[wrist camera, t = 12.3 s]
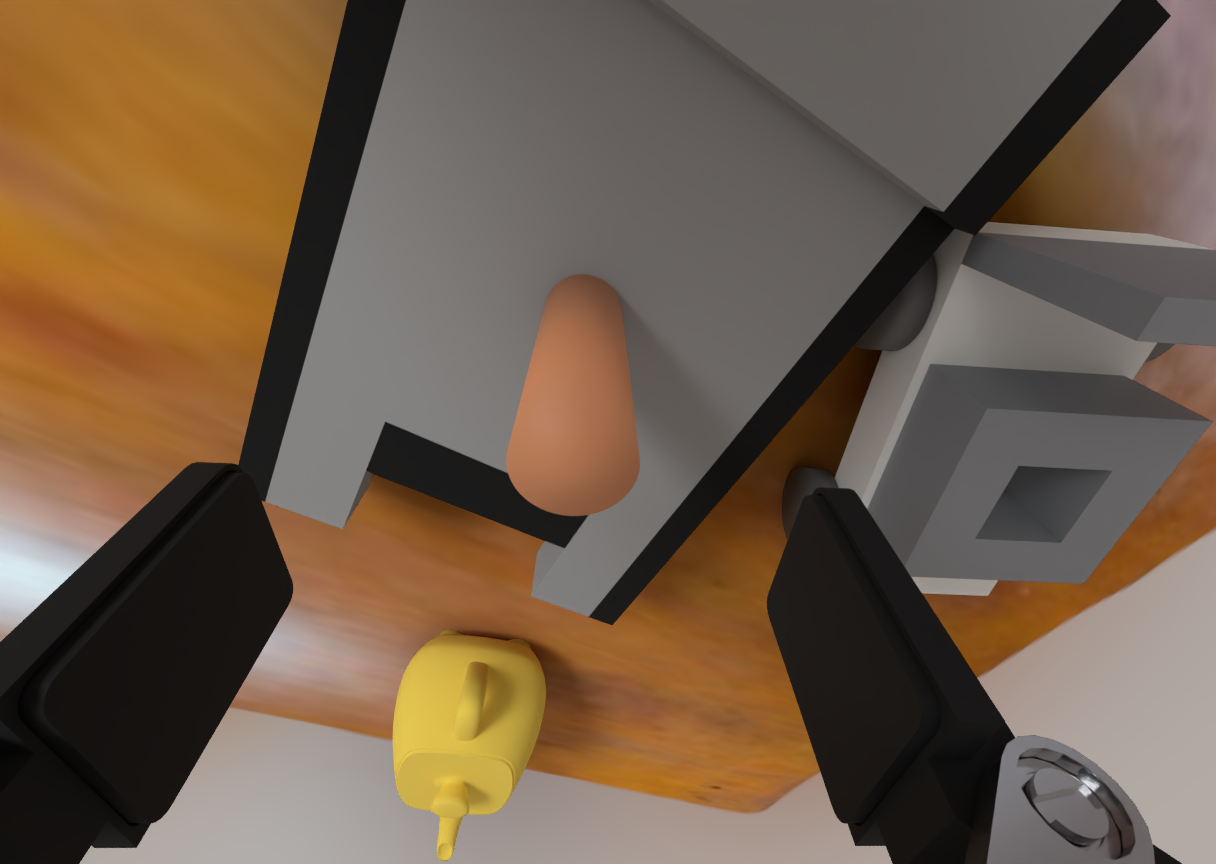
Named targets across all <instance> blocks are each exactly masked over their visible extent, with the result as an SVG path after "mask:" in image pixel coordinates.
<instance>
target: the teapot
mask: <svg viewBox="0 0 1216 864" xmlns="http://www.w3.org/2000/svg"><path fill="white" fill-rule="evenodd" d="M545 701H546V684H545V678H544V673H543V670H542V667H541V664H540V662H539V660H538V659H537V657H536V655H535V654H534V652H533V651H532V650H531V649H530V645H529V644H528V643H527V642H526V641H524V640H521V639H511V640H509V641H505V640H500V639H494V638H488V637H480V636H470V635H463V634H462V633H460V632H458V631H455V630H444V631H442V632H440V633H439V635H438V636H436V637H434V638H432V639H431V640H430V641H429V642H427V643H426V644H425V645H424V646H423V647H422V648H420V650H419V651H418V652H417V653H416V654H415V655H414V657H413V658H412V660H411V661H410V663H409V665H408V667H407V668H406V670H405V673H404V675H403V678H402V681H401V684H400V688H399V691H398V696H397V701H396V707H395V713H394V722H393V754H394V755H393V756H394V771H395V778H396V786H397V789H398V793H399V795H400V797H401V798H402V800H403V802H404V803H405V804H407V805H408V806H410V807H412V808H417V809H422V810H429V811H432V812H433V813H434V814H436V815H438V816H440V826H439V836H438V843H437V856H438V858H439V859H440V860H441V861H447V860H449V859H450V857H451V856H452V854H453V851H454V846H455V841H456V837H457V833H458V829H459V826H460V823H461V820H462V817H463V816H465V815H467V814H474V815H475V814H476V815H485V814H486V815H487V814H492V813H495V812H496V811H498V810H499V809H501V808H502V807H503V806H504V805H505V804H506V802H507V801H508V799H509V798H510V796H511V794H512V792H513V791H514V789H515V787H516V785H517V783H518V781H519V779H520V777H521V775H522V773H523V771H524V769H525V767H526V765H527V763H528V761H529V758H530V756H531V754H532V751H533V749H534V746H535V744H536V741H537V738H538V735H539V731H540V727H541V723H542V719H543V714H544V709H545Z"/></svg>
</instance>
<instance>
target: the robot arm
mask: <svg viewBox="0 0 1216 864" xmlns="http://www.w3.org/2000/svg"><path fill="white" fill-rule="evenodd" d="M292 594H293V583H292V579H291V577H290V574H289V571H288V569H287V566H286V564H285V561H284V558H283V556H282V553H281V551H280V548H279V545H278V543H277V540H276V538H275V535H274V532H273V530H272V527H271V525H270V522H269V519H268V517H267V514H266V512H265V509H264V506H263V504H262V501H261V499H260V496H259V493H258V491H257V488H256V486H255V483H254V480H253V479H252V477H251V476H250V475H249V474H247V473H244V472H243V471H242V469H241V468H240V467H239V466H238V465H236V464H231V463H206V462H196V463H192V464H190V465H189V466H187V467H186V468H185V469H184V470H183V471H182V472H181V473H179V474H178V475H177V476H176V477H175V478H174V479H173V480H172V481H171V482H170V483H169V484H168V485H167V486H166V487H165V488H164V489H162V490H161V491H160V492H159V493H158V494H157V495H156V496H155V497H154V498H153V499H152V500H151V501H150V502H149V503H148V504H147V505H145V506H144V507H143V508H142V509H141V510H140V511H139V512H138V513H137V514H136V515H135V516H134V517H133V518H132V519H131V520H130V521H128V522H127V523H126V524H125V525H124V526H123V527H122V528H121V529H120V530H119V531H118V532H117V533H116V534H115V535H114V536H113V537H111V538H110V539H109V540H108V541H107V542H106V543H105V544H104V545H103V546H102V547H101V548H100V549H99V550H98V551H97V552H96V553H94V554H93V555H92V556H91V557H90V558H89V559H88V560H87V561H86V562H85V563H84V564H83V565H82V566H81V567H80V568H79V569H77V570H76V571H75V572H74V573H73V574H72V575H71V576H70V577H69V578H68V579H67V580H66V581H65V582H64V583H63V584H61V585H60V586H59V587H58V588H57V589H56V590H55V591H54V592H53V593H52V594H51V595H50V596H49V597H48V598H47V599H46V600H44V601H43V602H42V603H41V604H40V605H39V606H38V607H37V608H36V609H35V610H34V611H33V612H32V613H31V614H30V615H29V616H27V617H26V618H25V619H24V620H23V621H22V622H21V623H20V624H19V625H18V626H17V627H16V628H15V629H14V630H13V631H12V632H10V633H9V634H8V635H7V636H6V637H5V638H4V639H3V640H2V641H1V642H0V864H79V863H80V861H81V860H82V858H83V857H84V855H85V854H86V852H87V851H88V849H89V848H90V846H91V845H92V846H93V847H94V848H136V847H137V846H138V844H139V843H140V841H141V839H142V837H143V836H144V834H145V833H146V831H147V829H148V828H149V826H150V824H151V823H154V822H156V821H158V820H159V819H161V818H162V817H163V816H164V815H165V814H166V813H167V811H168V810H169V808H170V807H171V805H172V803H173V802H174V800H175V799H176V796H177V795H178V793H179V792H180V790H181V788H182V787H183V785H184V783H185V781H186V780H187V778H188V776H189V775H190V773H191V771H192V769H193V768H194V766H195V764H196V762H197V761H198V759H199V757H200V756H201V754H202V752H203V750H204V749H205V747H206V745H207V744H208V742H209V740H210V739H211V737H212V735H213V733H214V732H215V730H216V728H217V727H218V725H219V723H220V722H221V720H222V718H223V716H224V715H225V713H226V711H227V710H228V708H229V706H230V704H231V703H232V701H233V699H234V698H235V696H236V694H237V692H238V691H239V689H240V687H241V686H242V684H243V682H244V680H245V679H246V677H247V675H248V674H249V672H250V670H251V668H252V667H253V665H254V663H255V662H256V660H257V658H258V656H259V655H260V653H261V651H262V650H263V648H264V646H265V644H266V643H267V641H268V639H269V638H270V636H271V634H272V632H273V631H274V629H275V627H276V626H277V624H278V622H279V620H280V619H281V617H282V615H283V614H284V612H285V610H286V608H287V607H288V605H289V603H290V601H291V598H292ZM767 610H768V615H769V618H770V621H771V624H772V627H773V630H774V633H775V636H776V639H777V642H778V645H779V648H780V651H781V654H782V657H783V660H784V663H785V666H786V669H787V672H788V675H789V678H790V681H791V684H792V687H793V690H794V693H795V696H796V699H797V702H798V705H799V708H800V711H801V714H802V717H803V720H804V723H805V726H806V729H807V732H808V735H809V738H810V741H811V744H812V747H813V750H814V753H815V756H816V759H817V762H818V765H819V768H820V771H821V774H822V777H823V780H824V783H825V786H826V789H827V792H828V795H829V798H830V801H831V804H832V807H833V810H834V812H835V814H836V816H837V818H838V819H839V820H840V821H841V822H842V823H848V826H849V829H850V831H851V835H852V837H853V840H854V843H855V846H886V847H887V850H888V853H889V855H890V858H891V860H892V863H893V864H1182V863H1180V862H1179V861H1177V860H1176V859H1174V858H1173V857H1171V856H1170V855H1168V854H1167V853H1165V852H1164V851H1162V850H1161V849H1159V848H1158V847H1156V846H1155V845H1153V844H1152V840H1151V837H1150V833H1149V830H1148V826H1147V825H1146V823H1145V821H1144V819H1143V818H1142V816H1141V814H1140V812H1139V810H1138V809H1137V807H1136V805H1135V804H1134V803H1133V801H1132V800H1131V799H1130V798H1129V796H1128V795H1127V794H1126V793H1125V792H1124V790H1123V789H1122V788H1121V787H1120V786H1119V784H1118V783H1117V782H1116V781H1115V780H1114V779H1112V778H1111V777H1110V776H1109V775H1108V774H1107V773H1106V772H1105V771H1104V770H1102V769H1101V768H1100V767H1099V766H1098V765H1097V764H1095V763H1094V762H1093V761H1091V760H1090V759H1088V758H1087V757H1085V756H1084V755H1082V754H1080V753H1079V752H1078V751H1076V750H1075V749H1073V748H1070V747H1068V746H1066V745H1064V744H1062V743H1060V742H1057V741H1055V740H1053V739H1049V738H1044V737H1040V736H1036V735H1030V736H1018V737H1017V738H1015V737H1014V735H1013V734H1012V732H1011V730H1010V729H1009V727H1008V726H1007V724H1006V723H1005V720H1004V719H1003V717H1002V716H1001V714H1000V713H999V711H998V710H997V708H996V707H995V705H994V704H993V702H992V700H991V699H990V698H989V696H988V694H987V693H986V691H985V690H984V688H983V687H982V685H981V684H980V682H979V680H978V679H977V677H976V676H975V674H974V673H973V671H972V670H971V668H970V667H969V665H968V664H967V662H966V660H965V659H964V657H963V656H962V654H961V653H960V651H959V650H958V648H957V647H956V645H955V644H954V642H953V640H952V639H951V637H950V636H949V634H948V633H947V631H946V630H945V628H944V627H943V625H942V624H941V622H940V620H939V619H938V617H937V616H936V614H935V613H934V611H933V610H932V608H931V607H930V605H929V603H928V602H927V600H926V599H925V597H924V596H923V594H922V593H921V591H920V590H919V588H918V587H917V585H916V583H915V582H914V580H913V579H912V577H911V576H910V574H909V573H908V571H907V570H906V568H905V567H904V565H903V563H902V562H901V560H900V559H899V557H898V556H897V554H896V553H895V551H894V550H893V548H892V547H891V545H890V543H889V542H888V540H887V539H886V537H885V536H884V534H883V533H882V531H881V530H880V528H879V527H878V525H877V523H876V522H875V520H874V519H873V517H872V516H871V514H870V513H869V511H868V510H867V508H866V507H865V505H864V503H863V502H862V500H861V499H860V497H859V496H858V494H857V493H856V492H855V491H854V490H852V489H849V488H825V487H820V488H816V489H815V490H814V492H813V494H812V495H806V496H805V497H804V498H803V500H802V503H801V505H800V508H799V511H798V514H797V516H796V519H795V522H794V525H793V527H792V530H791V533H790V536H789V538H788V541H787V544H786V547H785V549H784V552H783V555H782V558H781V560H780V563H779V566H778V569H777V571H776V574H775V577H774V580H773V583H772V585H771V588H770V591H769V594H768V597H767Z"/></svg>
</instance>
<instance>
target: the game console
mask: <svg viewBox="0 0 1216 864" xmlns="http://www.w3.org/2000/svg"><path fill="white" fill-rule="evenodd" d="M1169 17H1170V14H1169V13H1168V12H1167V11H1166V10H1165V9H1164V8H1163V7H1162V6H1161V5H1160V4H1159V3H1158V2H1157V0H348V2H347V6H346V10H345V15H344V19H343V23H342V27H341V32H340V36H339V40H338V44H337V49H336V53H335V57H334V61H333V66H332V70H331V74H330V78H329V83H328V87H327V91H326V95H325V100H324V104H323V108H322V112H321V117H320V121H319V125H318V129H317V134H316V138H315V142H314V146H313V151H312V155H311V159H310V163H309V168H308V172H307V176H306V180H305V185H304V189H303V193H302V197H301V202H300V206H299V210H298V214H297V219H296V223H295V227H294V231H293V236H292V240H291V244H290V248H289V253H288V257H287V261H286V265H285V270H284V274H283V278H282V282H281V287H280V291H279V295H278V299H277V304H276V308H275V312H274V316H273V321H272V325H271V329H270V333H269V338H268V342H267V346H266V350H265V355H264V359H263V363H262V367H261V372H260V376H259V380H258V384H257V389H256V393H255V397H254V401H253V406H252V410H251V414H250V418H249V423H248V427H247V431H246V435H245V440H244V444H243V448H242V452H241V457H240V461H239V465H238V466H239V467H240V468H241V469H242V471H243V472H244V473H247V474H249V475H250V476H251V477H252V479H253V480H254V483H255V486H256V488H257V491H258V493H259V496H260V499H261V500H262V501H265V502H268V503H270V504H273V505H276V506H279V507H282V508H284V509H287V510H290V511H293V512H296V513H298V514H301V515H304V516H307V517H310V518H312V519H315V520H318V521H321V522H324V523H326V524H329V525H332V526H335V527H338V528H341V529H343V528H344V526H345V525H346V523H347V521H348V520H349V518H350V516H351V515H352V513H353V511H354V510H355V508H356V507H357V505H358V503H359V502H360V500H361V498H362V497H363V495H364V493H365V492H366V490H367V488H368V486H369V483H370V481H371V478H372V476H373V474H375V475H378V476H380V477H383V478H385V479H388V480H390V481H393V482H396V483H398V484H401V485H404V486H406V487H409V488H411V489H414V490H416V491H419V492H421V493H424V494H427V495H429V496H432V497H434V498H437V499H439V500H442V501H444V502H447V503H450V504H452V505H455V506H457V507H460V508H462V509H465V510H467V511H470V512H473V513H475V514H478V515H480V516H483V517H485V518H488V519H490V520H493V521H496V522H498V523H501V524H503V525H506V526H508V527H511V528H514V529H516V530H519V531H521V532H524V533H526V534H529V535H531V536H534V537H536V538H539V539H541V540H544V541H545V542H544V543H543V545H542V546H541V548H540V549H539V551H538V552H537V557H536V564H535V572H534V579H533V586H532V593H531V597H534V598H537V599H540V600H543V601H545V602H548V603H551V604H554V605H557V606H560V607H562V608H565V609H568V610H571V611H574V612H576V613H579V614H582V615H585V616H588V617H590V618H593V619H596V620H599V621H602V622H604V623H607V624H610V625H613V624H614V623H615V621H616V620H617V619H618V618H619V617H620V616H621V614H622V613H623V612H624V611H625V610H626V609H627V608H628V606H629V605H630V604H631V603H632V602H633V601H634V599H635V598H636V597H637V596H638V595H639V594H640V592H641V591H642V590H643V589H644V588H645V587H646V586H647V584H648V583H649V582H650V581H651V580H652V579H653V577H654V576H655V575H656V574H657V573H658V572H659V570H660V569H661V568H662V567H663V566H664V565H665V564H666V562H667V561H668V560H669V559H670V558H671V557H672V555H673V554H674V553H675V552H676V551H677V550H678V548H679V547H680V546H681V545H682V544H683V543H684V542H685V540H686V539H687V538H688V537H689V536H690V535H691V533H692V532H693V531H694V530H695V529H696V528H697V526H698V525H699V524H700V523H701V522H702V521H703V520H704V518H705V517H706V516H707V515H708V514H709V513H710V511H711V510H712V509H713V508H714V507H715V506H716V504H717V503H718V502H719V501H720V500H721V499H722V498H723V496H724V495H725V494H726V493H727V492H728V491H729V489H730V488H731V487H732V486H733V485H734V484H735V483H736V481H737V480H738V479H739V478H740V477H741V476H742V474H743V473H744V472H745V471H746V470H747V469H748V467H749V466H750V465H751V464H752V463H753V462H754V461H755V459H756V458H757V457H758V456H759V455H760V454H761V452H762V451H763V450H764V449H765V448H766V447H767V445H768V444H769V443H770V442H771V441H772V440H773V439H774V437H775V436H776V435H777V434H778V433H779V432H780V430H781V429H782V428H783V427H784V426H785V425H786V423H787V422H788V421H789V420H790V419H791V418H792V417H793V415H794V414H795V413H796V412H797V411H798V410H799V408H800V407H801V406H802V405H803V404H804V403H805V401H806V400H807V399H808V398H809V397H810V396H811V395H812V393H813V392H814V391H815V390H816V389H817V388H818V386H819V385H820V384H821V383H822V382H823V381H824V379H825V378H826V377H827V376H828V375H829V374H830V373H831V371H832V370H833V369H834V368H835V367H836V366H837V364H838V363H839V362H840V361H841V360H842V359H843V357H844V356H845V355H846V354H847V353H848V352H849V351H850V349H851V348H852V347H853V346H854V345H855V344H856V342H857V341H858V340H859V339H860V338H861V337H862V335H863V334H864V333H865V332H866V331H867V330H868V329H869V327H870V326H871V325H872V324H873V323H874V322H875V320H876V319H877V318H878V317H879V316H880V315H881V313H882V312H883V311H884V310H885V309H886V308H887V307H888V305H889V304H890V303H891V302H892V301H893V300H894V298H895V297H896V296H897V295H898V294H899V293H900V291H901V290H902V289H903V288H904V287H905V286H906V285H907V283H908V282H909V281H910V280H911V279H912V278H913V276H914V275H915V274H916V273H917V272H918V271H919V269H920V268H921V267H922V266H923V265H924V264H925V263H926V261H927V260H928V259H929V258H930V257H931V256H932V254H933V253H934V252H935V251H936V250H937V249H938V247H939V246H940V245H941V244H942V243H943V242H944V241H945V239H946V238H947V237H948V236H949V235H950V234H951V232H952V231H953V230H954V229H957V230H960V231H963V232H966V233H969V234H972V235H975V236H976V234H977V233H978V232H979V231H980V230H981V229H982V228H983V227H984V225H985V224H986V223H987V222H988V221H989V220H990V219H991V218H992V216H993V215H994V214H995V213H996V212H997V211H998V210H999V209H1000V207H1001V206H1002V205H1003V204H1004V203H1005V202H1006V201H1007V200H1008V198H1009V197H1010V196H1011V195H1012V194H1013V193H1014V192H1015V191H1016V189H1017V188H1018V187H1019V186H1020V185H1021V184H1022V183H1023V182H1024V180H1025V179H1026V178H1027V177H1028V176H1029V175H1030V174H1031V173H1032V171H1033V170H1034V169H1035V168H1036V167H1037V166H1038V165H1039V164H1040V162H1041V161H1042V160H1043V159H1044V158H1045V157H1046V156H1047V155H1048V153H1049V152H1050V151H1051V150H1052V149H1053V148H1054V147H1055V146H1056V144H1057V143H1058V142H1059V141H1060V140H1061V139H1062V138H1063V137H1064V135H1065V134H1066V133H1067V132H1068V131H1069V130H1070V129H1071V128H1072V126H1073V125H1074V124H1075V123H1076V122H1077V121H1078V120H1079V119H1080V117H1081V116H1082V115H1083V114H1084V113H1085V112H1086V111H1087V110H1088V108H1089V107H1090V106H1091V105H1092V104H1093V103H1094V102H1095V101H1096V99H1097V98H1098V97H1099V96H1100V95H1101V94H1102V93H1103V92H1104V90H1105V89H1106V88H1107V87H1108V86H1109V85H1110V84H1111V83H1112V81H1113V80H1114V79H1115V78H1116V77H1117V76H1118V75H1119V74H1120V72H1121V71H1122V70H1123V69H1124V68H1125V67H1126V66H1127V65H1128V63H1129V62H1130V61H1131V60H1132V59H1133V58H1134V57H1135V56H1136V54H1137V53H1138V52H1139V51H1140V50H1141V49H1142V48H1143V47H1144V46H1145V44H1146V43H1147V42H1148V41H1149V40H1150V39H1151V38H1152V37H1153V35H1154V34H1155V33H1156V32H1157V31H1158V30H1159V29H1160V28H1161V26H1162V25H1163V24H1164V23H1165V22H1166V21H1167V20H1168V19H1169ZM579 274H586V275H592V276H595V277H598V278H600V279H602V280H604V281H605V282H607V283H608V284H609V285H610V286H611V287H612V288H613V289H614V291H615V292H616V293H617V295H618V297H619V300H620V303H621V307H622V315H623V324H624V332H625V340H626V349H627V357H628V365H629V374H630V382H631V390H632V399H633V407H634V415H635V424H636V432H637V440H638V449H639V457H640V469H639V474H638V477H637V480H636V482H635V484H634V486H633V488H632V489H631V490H630V492H629V493H628V494H627V495H626V496H625V497H624V498H623V499H622V500H621V501H620V502H618V503H617V504H615V505H614V506H612V507H610V508H608V509H606V510H604V511H601V512H598V513H595V514H590V515H583V516H566V515H559V514H554V513H551V512H548V511H545V510H543V509H541V508H538V507H537V506H535V505H533V504H532V503H530V502H529V501H527V500H526V499H525V498H524V497H523V496H522V495H521V494H520V493H519V492H518V491H517V489H516V488H515V487H514V485H513V483H512V482H511V479H510V477H509V474H508V471H507V464H506V457H507V451H508V446H509V442H510V439H511V435H512V431H513V427H514V423H515V419H516V415H517V411H518V407H519V403H520V399H521V396H522V392H523V388H524V384H525V380H526V376H527V372H528V368H529V364H530V360H531V357H532V353H533V349H534V345H535V341H536V337H537V333H538V329H539V325H540V321H541V318H542V314H543V310H544V306H545V302H546V299H547V296H548V294H549V293H550V291H551V290H552V288H553V287H554V286H555V285H556V284H557V283H559V282H560V281H561V280H563V279H565V278H567V277H570V276H573V275H579Z"/></svg>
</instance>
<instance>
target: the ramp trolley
mask: <svg viewBox="0 0 1216 864" xmlns="http://www.w3.org/2000/svg"><path fill="white" fill-rule="evenodd" d="M1174 344H1188V345H1203V346H1216V249H1211V248H1207V247H1203V246H1199V245H1194V244H1190V243H1186V242H1182V241H1177V240H1173V239H1169V238H1165V237H1161V236H1156V235H1152V234H1141V233H1128V232H1115V231H1101V230H1088V229H1075V228H1062V227H1049V226H1036V225H1023V224H1009V223H996V222H987V223H986V224H985V225H984V227H983V228H982V229H981V230H980V231H979V232H978V233H977V234H976V236H975V235H972V234H969V233H966V232H963V231H960V230H957V229H954V230H953V231H952V232H951V234H950V235H949V236H948V237H947V238H946V239H945V241H944V242H943V243H942V244H941V245H940V246H939V247H938V249H937V250H936V251H935V252H934V253H933V254H932V256H931V257H930V258H929V259H928V260H927V261H926V263H925V264H924V265H923V266H922V267H921V268H920V269H919V271H918V272H917V273H916V274H915V275H914V276H913V278H912V279H911V280H910V281H909V282H908V283H907V285H906V286H905V287H904V288H903V289H902V290H901V291H900V293H899V294H898V295H897V296H896V297H895V298H894V300H893V301H892V302H891V303H890V304H889V305H888V307H887V308H886V309H885V310H884V311H883V312H882V313H881V315H880V316H879V317H878V318H877V319H876V320H875V322H874V323H873V324H872V325H871V326H870V327H869V329H868V330H867V331H866V332H865V333H864V334H863V335H862V337H861V338H860V339H859V340H858V341H857V342H856V344H855V346H856V347H858V348H860V349H871V350H883V351H882V353H881V356H880V359H879V361H878V364H877V366H876V369H875V372H874V374H873V377H872V380H871V382H870V385H869V388H868V390H867V393H866V396H865V398H864V401H863V404H862V406H861V409H860V412H859V414H858V417H857V420H856V422H855V425H854V428H853V430H852V433H851V436H850V438H849V441H848V444H847V446H846V449H845V452H844V454H843V457H842V460H841V462H840V465H839V468H838V470H837V473H836V476H835V478H834V477H833V475H832V474H831V473H830V472H829V471H828V470H827V469H824V468H808V467H796V468H795V469H793V470H792V471H791V473H790V474H789V476H788V478H787V480H786V483H785V487H784V491H783V499H782V519H783V526H784V530H785V534H786V537H787V540H788V538H789V536H790V533H791V530H792V527H793V525H794V522H795V519H796V516H797V514H798V511H799V508H800V505H801V503H802V500H803V498H804V497H805V496H806V495H812V494H813V492H814V490H815V489H816V488H820V487H825V488H849V489H852V490H854V491H855V492H856V493H857V494H858V496H859V497H860V499H861V500H862V502H863V503H864V505H865V507H866V508H867V510H868V511H869V513H870V514H871V516H872V517H873V519H874V520H875V522H876V523H877V525H878V527H879V528H880V530H881V531H882V533H883V534H884V536H885V537H886V539H887V540H888V542H889V543H890V545H891V547H892V548H893V550H894V551H895V553H896V554H897V556H898V557H899V559H900V560H901V562H902V563H903V565H904V567H905V568H906V570H907V571H908V573H909V574H910V576H911V577H912V579H913V580H914V582H915V583H916V585H917V587H918V588H919V590H920V591H921V593H928V594H953V595H978V596H988V595H989V593H990V592H991V590H992V589H993V587H994V586H995V584H996V583H997V581H998V580H1003V581H1027V582H1052V583H1076V584H1084V582H1085V581H1086V580H1087V579H1088V577H1089V576H1090V575H1091V574H1092V572H1093V571H1094V570H1095V569H1096V567H1097V566H1098V565H1099V564H1100V562H1101V561H1102V560H1103V559H1104V557H1105V556H1106V555H1107V554H1108V552H1109V551H1110V550H1111V548H1112V547H1113V546H1114V545H1115V543H1116V542H1117V541H1118V540H1119V538H1120V537H1121V536H1122V535H1123V533H1124V532H1125V531H1126V530H1127V528H1128V527H1129V526H1130V525H1131V523H1132V522H1133V521H1134V520H1135V518H1136V517H1137V516H1138V515H1139V513H1140V512H1141V511H1142V510H1143V508H1144V507H1145V506H1146V505H1147V503H1148V502H1149V501H1150V500H1151V498H1152V497H1153V496H1154V495H1155V493H1156V492H1157V491H1158V490H1159V488H1160V487H1161V486H1162V485H1163V483H1164V482H1165V481H1166V480H1167V478H1168V477H1169V476H1170V474H1171V473H1172V472H1173V471H1174V469H1175V468H1176V467H1177V466H1178V464H1179V463H1180V462H1181V461H1182V459H1183V458H1184V457H1185V456H1186V454H1187V453H1188V452H1189V451H1190V449H1191V448H1192V447H1193V446H1194V444H1195V443H1196V442H1197V441H1198V439H1199V438H1200V437H1201V436H1202V434H1203V433H1204V432H1205V431H1206V429H1207V428H1208V427H1209V426H1210V424H1211V423H1212V422H1213V421H1211V420H1209V419H1207V418H1205V417H1203V416H1201V415H1199V414H1197V413H1195V412H1193V411H1191V410H1189V409H1188V408H1186V407H1184V406H1182V405H1180V404H1178V403H1176V402H1174V401H1172V400H1170V399H1168V398H1166V397H1164V396H1162V395H1161V394H1159V393H1157V392H1155V391H1153V390H1151V389H1149V388H1147V387H1145V386H1143V385H1141V384H1139V383H1137V382H1135V381H1133V378H1134V377H1135V375H1136V374H1137V372H1138V371H1139V369H1140V368H1141V366H1142V365H1143V363H1144V362H1147V361H1150V360H1152V359H1154V358H1156V357H1158V356H1160V355H1161V354H1163V353H1164V352H1166V351H1167V350H1168V349H1170V348H1171V347H1172V346H1173V345H1174Z"/></svg>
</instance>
